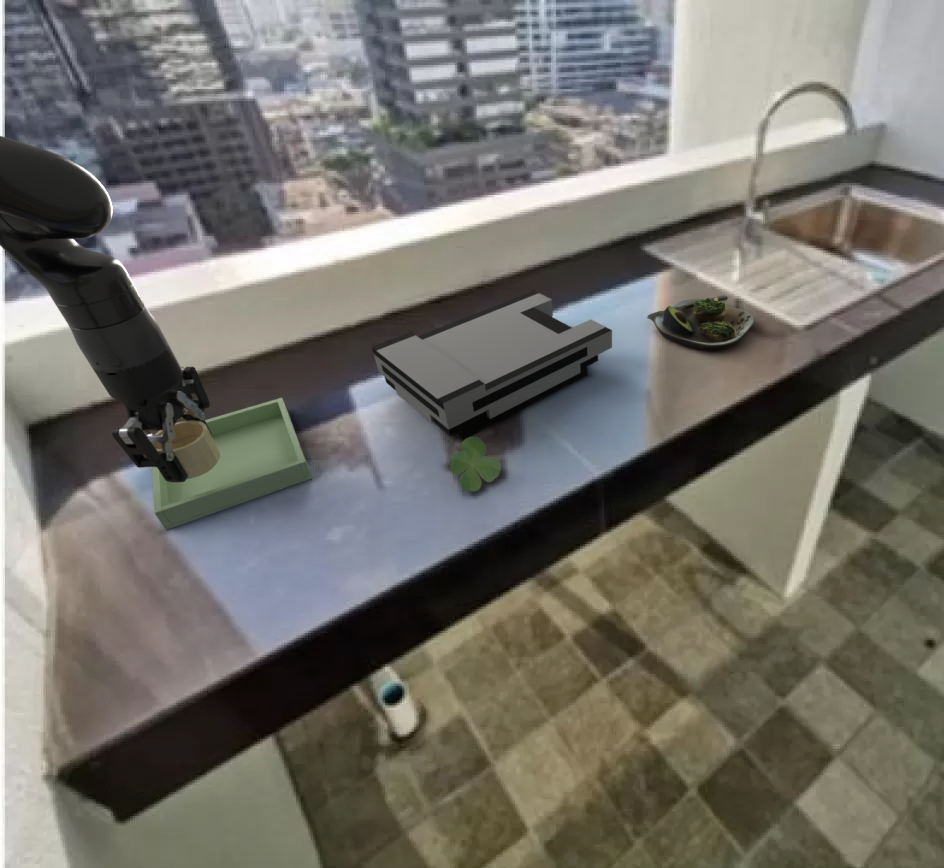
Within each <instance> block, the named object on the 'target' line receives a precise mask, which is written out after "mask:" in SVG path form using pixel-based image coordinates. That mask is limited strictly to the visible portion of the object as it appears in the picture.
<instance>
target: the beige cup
mask: <svg viewBox="0 0 944 868" xmlns="http://www.w3.org/2000/svg"><path fill="white" fill-rule="evenodd" d="M174 431H175V440H173V441H172V445H173V452H174V456H176V457H177V458H178V460H179V462H180V463H181V465H182V467H183V468H184V470H185V472H186V473H187V475H188V478H187V479H191V478H195V477H198V476H201V475H203V474H205V473H207V472H208V471H210V470H211V469H212V468H213V467H214V466H215V465H216V463H217V462H218V461H219V459H220V457H221V455H220V450H219V448H218V447H217V445H216V443H215V441H214V439H213V437H212V435H211V434H210V432H209V430H208V428H207V426H206V425H205V424H204V423H202V422H201V421H195V420H189V421H183V420H182V421H179V422H176V423H175V425H174ZM154 435H163V430H157V431H156V432H155V433H154ZM156 449H157V451H162V445H161V443H159V442H156Z"/></svg>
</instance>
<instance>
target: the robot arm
mask: <svg viewBox="0 0 944 868" xmlns="http://www.w3.org/2000/svg"><path fill="white" fill-rule="evenodd" d="M113 210H114V209H113V202H112V199H111V196H110V195H109V192H108V191H107V189H106V188H105V186H104V185H103V183H102V182H101V181H100V180H99V179H98V178H97V177H96V176H95V175H94V174H93V173H92V172H91V171H89V170H88V169H87V168H85V167H84V166H82V165H80V164H79V163H77V162H76V161H73V160H72V159H69V158H68V157H66V156H63V155H60V154H57V153H56V152H53V151H50V150H47V149H44V148H41V147H38V146H34V145H31V144H29V143H25V142H22V141H19V140H16V139H13V138H10V137H6V136H2V135H0V247H1V248H2V249H3V250H4V251H5V252H6V253H7V254H8V255H9V256H10V257H11V258H12V259H13V260H14V261H15V262H16V263H17V264H18V265H19V266H20V267H21V268H22V269H23V270H24V271H26V273H27V274H28V275H29V276H31V277H32V278H33V279H34V280H35V281H37V282H38V283H39V284H40V285H41V286H42V287H43V288H44V289H45V290H46V291H47V293H48V295H49V296H50V298H51V300H52V301H53V303H54V304H55V306H56V308H57V309H58V311H59V312H60V314H61V316H62V317H63V319H64V320H65V322H66V323H67V325H68V327H69V329H70V331H71V333H72V336H73V338H74V339H75V340H74V341H75V342H76V345H77V346H78V348H79V350H80V351H81V353H82V354H83V356H84V357H85V359H86V361H87V362H88V363H89V365H90V367H91V369H92V370H93V372H94V373H95V375H96V376H97V378H98V379H99V381H100V382H101V384H102V386H103V387H104V389H105V391H106V392H107V394H108V395H109V396H110V397H111V398H112V399H113V400H116V401H117V402H119V403H120V404H122V405H123V406H124V408H125V411H126V416H127V419H128V420H127V421H126V423H125V424H124V425H123V426H122V427H114V428H113V429H112V431H111V435H112V438H113V439H114V440H115V441H116V443H118V445H119V446H120V447H121V449H122V450H123V451H124V452H125V454H126V455H127V456H128V458H129V459H130V460H131V461H132V463H133V464H134V465H135V466H136V467H137V468H139V469H143V468H152V467H157V468H158V470H159V471H160V473H161V474H162V476H163V478H164V479H165V480H166V481H167V482H185V480H186V479H187V478H188V475H187V473H186V472H185V470H184V468H183V467H182V465H181V463H180V462H179V460H178V458H177V457H176V456H174V452H173V445H172V441H173V440H175V431H174V425H175V423H177V421H178V420H179V419H180V420H182V421H189V420H195V421H201V422H202V423H204V424H205V425H206V426H207V428H208V430H209V432H210V434H211V435H212V433H211V431H210V429H209V427H208V425H207V423H206V422H205V420H206V417H207V416H206V412H205V409H208V408H210V405H211V402H210V399H209V397H208V395H207V393H206V390H205V388H204V386H203V383H202V381H201V378H200V376H199V374H198V372H197V369H196V367H195V366H181V365H180V363H179V361H178V360H177V357H176V356H175V354H174V352H173V350H172V348H171V346H170V345H169V342H168V340H167V338H166V336H165V335H164V333H163V331H162V329H161V327H160V325H159V323H158V321H157V320H156V318H155V317H154V316H153V314H152V313H151V312H150V310H149V308H148V307H147V306H146V304H145V302H144V301H143V299H142V297H141V295H140V293H139V291H138V289H137V287H136V285H135V283H134V281H133V280H132V278H131V277H130V274H129V273H128V271H127V269H126V267H125V266H124V264H123V263H122V262H121V261H120V260H119V259H117V258H116V257H115V256H111V255H109V254H106V253H103V252H98V251H94V250H91V249H90V248H89V249H88V248H86V247H84V246H82V245H81V244H79V242H77V241H76V240H84V239H88V238H92V237H95V236H97V235H99V234H101V233H102V232H103V231H105V230H106V229H107V227H108V226H109V225H110V223H111V221H112V219H113ZM193 394H194V395H196V398H194V397H193ZM160 430H163V435H155V434H153V433H152V432H151V431H156V432H157V431H160ZM156 442H159V443H161V445H162V451H157V449H156Z"/></svg>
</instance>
